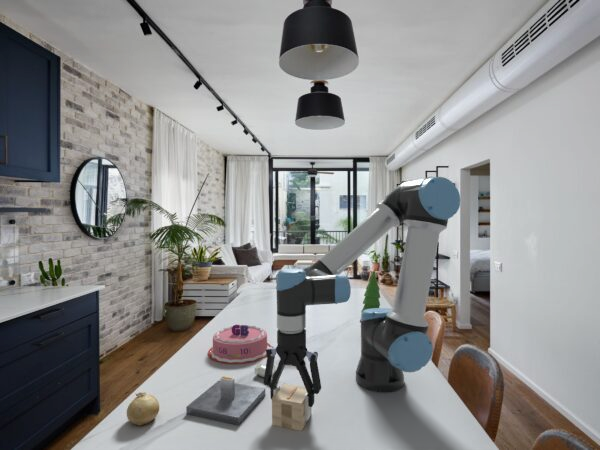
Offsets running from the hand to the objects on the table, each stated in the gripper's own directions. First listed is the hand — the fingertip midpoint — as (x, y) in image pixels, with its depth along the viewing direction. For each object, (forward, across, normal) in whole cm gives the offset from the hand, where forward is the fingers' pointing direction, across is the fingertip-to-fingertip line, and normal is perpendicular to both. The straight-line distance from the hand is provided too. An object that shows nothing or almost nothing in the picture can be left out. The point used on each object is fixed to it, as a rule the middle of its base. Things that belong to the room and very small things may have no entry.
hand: (292, 414), depth 93 cm
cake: (+2, +36, -37) cm, 51 cm away
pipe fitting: (+2, +16, -21) cm, 26 cm away
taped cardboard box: (+1, 0, 0) cm, 1 cm away
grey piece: (+1, +20, -1) cm, 20 cm away
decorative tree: (+1, -11, -65) cm, 66 cm away
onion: (+2, +37, +13) cm, 39 cm away
